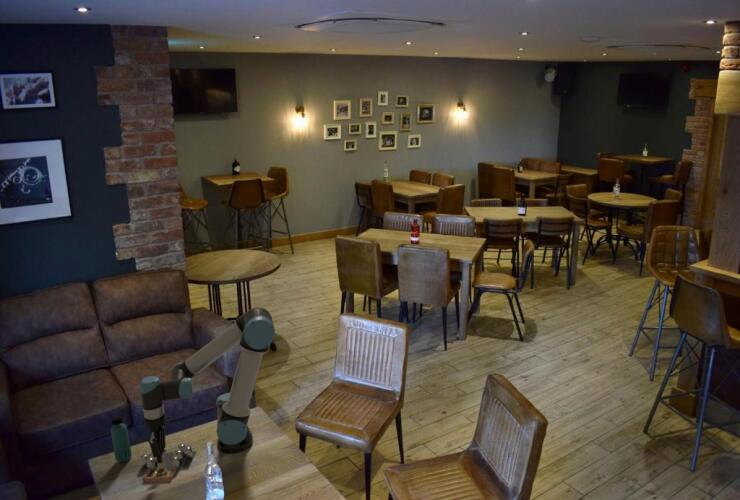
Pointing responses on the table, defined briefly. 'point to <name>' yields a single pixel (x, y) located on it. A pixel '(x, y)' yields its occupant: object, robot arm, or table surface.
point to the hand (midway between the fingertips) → (162, 468)
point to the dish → (163, 478)
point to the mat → (168, 456)
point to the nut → (161, 472)
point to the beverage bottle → (120, 440)
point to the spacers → (175, 460)
